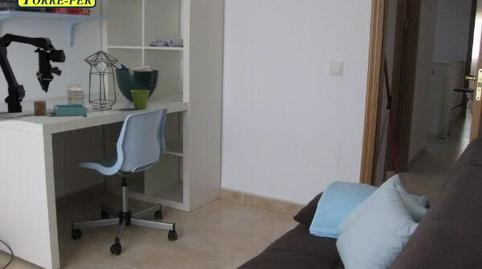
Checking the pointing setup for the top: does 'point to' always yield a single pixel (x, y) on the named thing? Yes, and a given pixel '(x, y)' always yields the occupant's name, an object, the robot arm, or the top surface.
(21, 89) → the robot arm
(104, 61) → the geometric lantern
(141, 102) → the plant pot
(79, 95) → the ink cartridge box
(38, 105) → the taped shipping carton
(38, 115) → the stud plate
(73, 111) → the bin
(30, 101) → the top surface
